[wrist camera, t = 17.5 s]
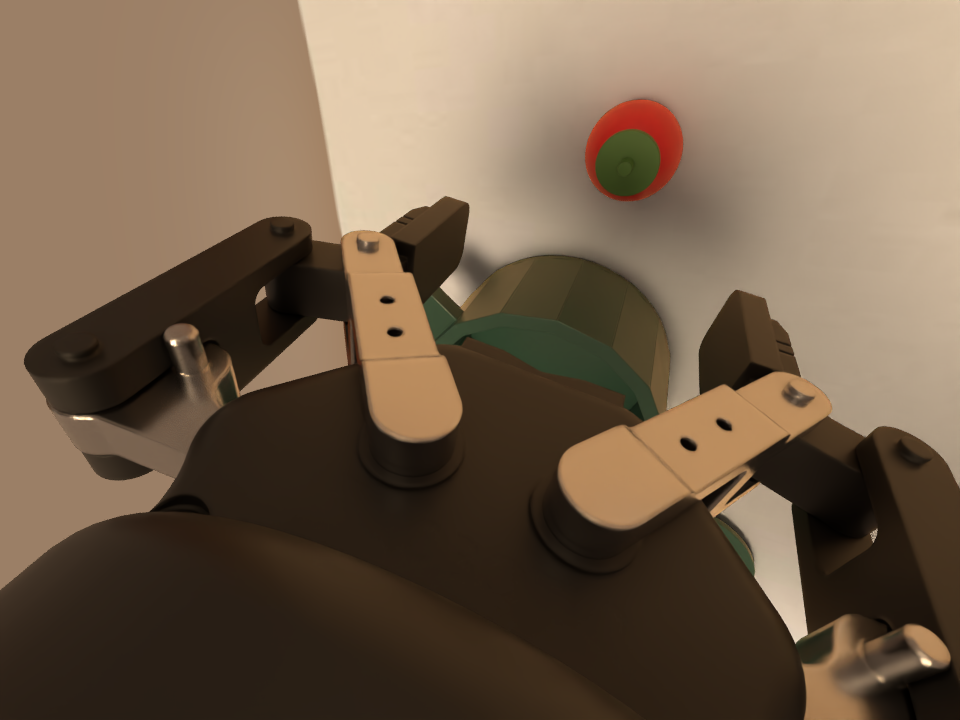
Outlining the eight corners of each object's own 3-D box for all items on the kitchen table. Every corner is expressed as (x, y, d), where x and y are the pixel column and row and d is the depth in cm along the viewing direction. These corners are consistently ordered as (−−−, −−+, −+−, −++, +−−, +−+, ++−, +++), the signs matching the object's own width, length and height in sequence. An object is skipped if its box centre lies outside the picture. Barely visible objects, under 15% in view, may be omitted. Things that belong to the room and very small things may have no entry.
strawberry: (646, 70, 21) (634, 83, 17) (703, 140, 21) (704, 170, 17) (578, 141, 23) (552, 167, 19) (630, 201, 24) (616, 240, 20)
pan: (532, 170, 25) (484, 214, 20) (743, 404, 29) (754, 498, 23) (403, 306, 34) (346, 363, 29) (576, 471, 38) (555, 550, 32)
